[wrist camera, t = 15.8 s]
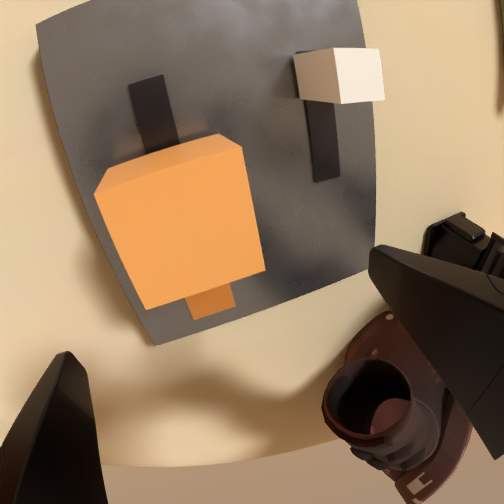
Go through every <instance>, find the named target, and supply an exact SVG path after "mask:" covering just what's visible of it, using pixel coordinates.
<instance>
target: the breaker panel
mask: <svg viewBox="0 0 504 504" xmlns="http://www.w3.org/2000/svg"><path fill="white" fill-rule="evenodd" d="M36 31H37V38H38V44H39V50H40V56H41V61H42V66H43V71H44V76H45V81H46V85H47V89H48V94H49V98H50V102H51V106H52V109H53V113H54V117H55V120H56V124H57V127H58V131H59V134H60V137H61V141H62V144H63V147H64V150H65V153H66V156H67V159H68V162H69V165H70V168H71V171H72V174H73V176H74V179H75V182H76V185H77V187H78V190H79V193H80V195H81V198H82V200H83V203H84V205H85V208H86V210H87V213H88V215H89V218H90V220H91V222H92V225H93V227H94V229H95V232H96V234H97V236H98V238H99V241H100V243H101V245H102V247H103V249H104V252H105V254H106V256H107V258H108V260H109V262H110V264H111V266H112V268H113V270H114V273H115V275H116V277H117V279H118V281H119V282H120V284H121V286H122V288H123V290H124V292H125V294H126V296H127V298H128V300H129V302H130V303H131V305H132V307H133V309H134V311H135V313H136V314H137V316H138V318H139V320H140V322H141V323H142V325H143V327H144V329H145V330H146V332H147V334H148V335H149V337H150V339H151V340H152V342H153V344H154V345H155V346H156V345H159V344H163V343H166V342H169V341H172V340H176V339H179V338H182V337H185V336H188V335H191V334H195V333H198V332H201V331H204V330H207V329H210V328H213V327H216V326H219V325H222V324H225V323H228V322H230V321H233V320H236V319H239V318H242V317H245V316H248V315H250V314H253V313H256V312H259V311H262V310H264V309H267V308H270V307H273V306H275V305H278V304H281V303H283V302H286V301H289V300H291V299H294V298H297V297H299V296H302V295H305V294H307V293H310V292H312V291H315V290H317V289H320V288H322V287H325V286H327V285H330V284H332V283H335V282H337V281H340V280H342V279H345V278H347V277H350V276H352V275H355V274H357V273H359V272H362V271H364V270H366V269H368V266H369V252H370V250H371V249H372V248H373V247H374V243H375V219H376V158H375V134H374V118H373V105H372V101H367V102H356V103H346V104H337V103H330V102H321V101H313V100H303V99H300V95H299V88H298V82H297V76H296V70H295V64H294V58H293V55H295V54H300V53H306V52H311V51H317V50H323V49H329V48H366V46H365V40H364V34H363V28H362V23H361V18H360V13H359V8H358V3H357V0H90V1H88V2H85V3H83V4H80V5H78V6H75V7H73V8H70V9H68V10H66V11H63V12H61V13H59V14H57V15H54V16H52V17H50V18H48V19H46V20H44V21H42V22H40V23H38V24H36ZM215 134H220V135H222V136H224V137H226V138H227V139H229V140H231V141H233V142H234V143H236V144H238V145H239V146H241V147H242V151H243V156H244V161H245V166H246V172H247V177H248V182H249V187H250V192H251V197H252V202H253V207H254V212H255V218H256V223H257V228H258V233H259V238H260V244H261V249H262V254H263V259H264V265H265V271H262V272H259V273H256V274H253V275H251V276H248V277H245V278H242V279H239V280H236V281H233V282H230V283H227V284H224V285H221V286H218V287H215V288H212V289H209V290H206V291H203V292H200V293H197V294H194V295H191V296H188V297H185V298H182V299H179V300H176V301H173V302H170V303H167V304H164V305H161V306H158V307H155V308H151V309H148V310H146V309H145V307H144V305H143V303H142V301H141V299H140V297H139V295H138V293H137V291H136V289H135V287H134V285H133V283H132V281H131V279H130V277H129V275H128V273H127V271H126V269H125V267H124V264H123V262H122V260H121V258H120V256H119V254H118V251H117V249H116V247H115V245H114V242H113V240H112V238H111V236H110V233H109V231H108V228H107V226H106V224H105V221H104V219H103V216H102V214H101V211H100V209H99V206H98V204H97V201H96V199H95V196H94V193H95V191H96V189H97V187H98V185H99V184H100V182H101V180H102V178H103V176H104V175H105V173H106V171H107V169H108V168H111V167H113V166H116V165H119V164H121V163H124V162H127V161H130V160H133V159H136V158H138V157H141V156H144V155H147V154H150V153H153V152H156V151H160V150H163V149H166V148H169V147H172V146H176V145H179V144H182V143H186V142H189V141H193V140H196V139H200V138H204V137H207V136H211V135H215Z"/></svg>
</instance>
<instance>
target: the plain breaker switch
mask: <svg viewBox="0 0 504 504" xmlns="http://www.w3.org/2000/svg"><path fill="white" fill-rule="evenodd" d="M293 58H294V64H295V70H296V76H297V82H298V88H299V95H300V99H303V100H313V101H321V102H330V103H337V104H346V103H356V102H367V101H380V100H385V98H384V87H383V77H382V68H381V60H380V53H379V49H370V48H329V49H323V50H317V51H311V52H306V53H300V54H295V55H293Z"/></svg>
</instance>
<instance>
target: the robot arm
mask: <svg viewBox="0 0 504 504" xmlns="http://www.w3.org/2000/svg"><path fill="white" fill-rule="evenodd" d="M465 217H466V214H465V213H463V212H460V213H458V214H455V215H453V216H451V217H448V218H446V219H444V220H441V221H439V222H437V223H434V224H432V225H430V227H429V229H428V234H427V241H426V247H425V254H424V255H420V254H416V253H413V252H409V251H405V250H402V249H398V248H394V247H391V246H387V245H379V246H376V247H373V248H372V249H371V250H370V252H369V266H368V273H369V276H370V279H371V280H372V282H373V283H374V285H375V286H376V288H377V289H378V291H379V293H380V294H381V296H382V297H383V299H384V300H385V302H386V303H387V305H388V307H389V308H390V310H391V311H392V313H393V314H394V316H395V317H396V318H397V320H398V321H399V322H400V324H401V325H402V326H403V328H404V329H405V330H406V331H407V333H408V334H409V335H410V337H411V338H412V339H413V341H414V342H415V343H416V345H417V346H418V347H419V349H420V350H421V351H422V353H423V354H424V355H425V357H426V358H427V359H428V361H429V362H430V364H431V365H432V366H433V368H434V369H435V370H436V372H437V373H438V375H439V376H440V377H441V379H442V380H443V382H444V383H445V385H446V386H447V387H448V389H449V390H450V392H451V393H452V395H453V396H454V398H455V399H456V401H457V402H458V403H459V405H460V406H461V408H462V409H463V411H464V412H465V414H466V416H467V417H468V419H469V420H470V422H471V423H472V425H473V427H474V428H475V430H476V431H477V433H478V434H479V436H480V438H481V439H482V441H483V442H484V444H485V446H486V447H487V449H488V451H489V452H490V454H491V456H492V457H493V459H494V460H496V459H498V458H499V457H500V456H502V455H503V454H504V238H503V237H501V236H499V235H498V234H496V233H494V232H492V235H491V238H490V237H489V236H487V235H486V234H485V230H484V229H483V228H481V227H480V226H478V225H477V224H475V223H473V222H472V221H470V220H468V219H467V218H465ZM2 445H3V446H1V447H0V504H108V500H107V496H106V491H105V486H104V480H103V475H102V469H101V463H100V456H99V449H98V441H97V433H96V424H95V417H94V412H93V406H92V401H91V395H90V389H89V382H88V376H87V372H86V370H85V368H84V367H83V366H82V365H81V363H80V362H79V361H78V360H77V359H76V357H75V356H74V355H73V354H72V353H71V352H69V351H65V352H62V353H59V354H57V355H56V356H55V358H54V359H53V361H52V362H51V364H50V365H49V367H48V368H47V370H46V371H45V373H44V374H43V376H42V377H41V379H40V380H39V382H38V384H37V385H36V387H35V388H34V390H33V391H32V393H31V395H30V396H29V398H28V400H27V401H26V403H25V405H24V406H23V408H22V410H21V411H20V413H19V415H18V416H17V418H16V420H15V422H14V423H13V425H12V427H11V429H10V430H9V432H8V434H7V436H6V438H5V440H4V441H3V443H2Z"/></svg>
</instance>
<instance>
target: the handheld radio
mask: <svg viewBox="0 0 504 504" xmlns="http://www.w3.org/2000/svg"><path fill="white" fill-rule="evenodd" d="M500 6H501V15H502V26H503V42H504V0H500Z"/></svg>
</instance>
